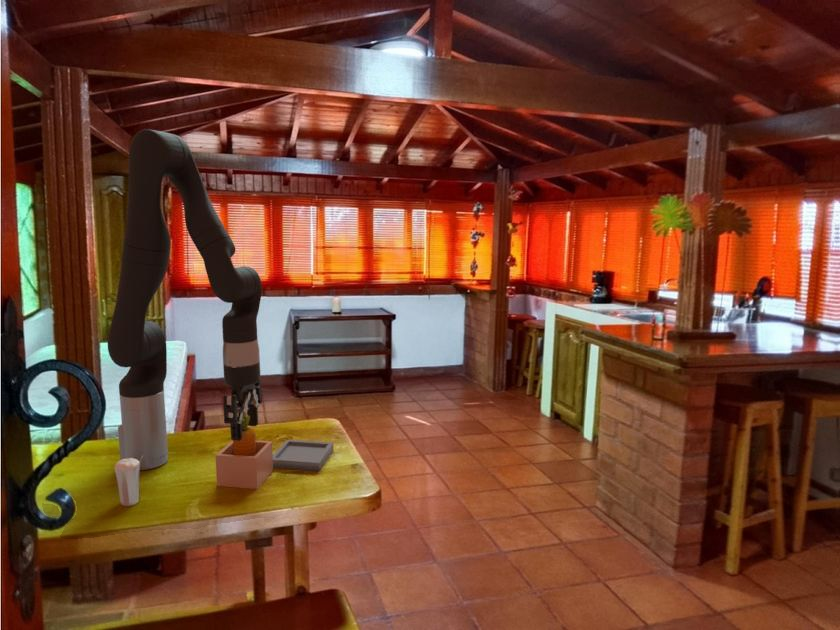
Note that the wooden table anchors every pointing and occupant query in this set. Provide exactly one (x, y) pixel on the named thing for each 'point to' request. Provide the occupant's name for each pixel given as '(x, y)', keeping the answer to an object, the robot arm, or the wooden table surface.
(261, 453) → the box
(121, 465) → the milkshake
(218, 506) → the wooden table surface
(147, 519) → the wooden table surface
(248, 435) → the carrot
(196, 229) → the robot arm
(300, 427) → the wooden table surface
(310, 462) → the tray
